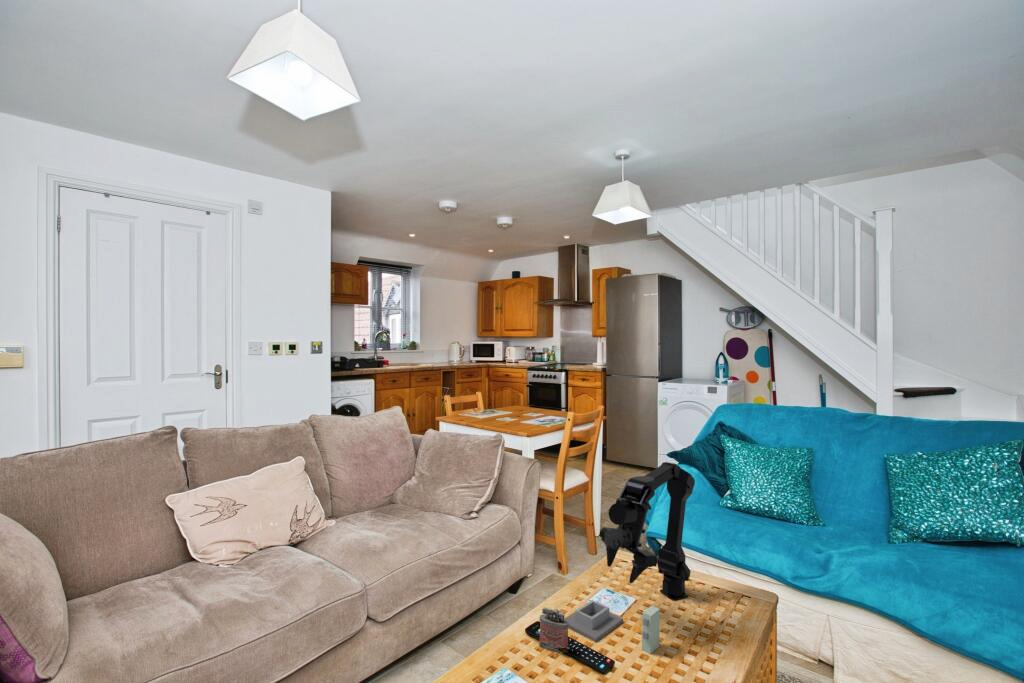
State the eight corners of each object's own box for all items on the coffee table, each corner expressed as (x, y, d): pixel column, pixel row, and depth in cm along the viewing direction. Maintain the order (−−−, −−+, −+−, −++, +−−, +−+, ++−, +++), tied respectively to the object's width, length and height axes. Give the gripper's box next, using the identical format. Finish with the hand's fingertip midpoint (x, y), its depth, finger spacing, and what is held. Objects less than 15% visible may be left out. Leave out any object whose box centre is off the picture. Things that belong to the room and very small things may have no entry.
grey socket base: (623, 622, 144) (623, 608, 144) (595, 642, 134) (595, 627, 134) (589, 606, 152) (589, 593, 152) (560, 624, 142) (561, 610, 142)
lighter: (570, 648, 131) (570, 610, 131) (566, 655, 128) (566, 616, 128) (541, 640, 134) (542, 603, 134) (537, 647, 131) (537, 609, 131)
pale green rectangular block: (659, 646, 132) (659, 608, 132) (649, 655, 128) (649, 616, 128) (651, 642, 134) (651, 605, 134) (640, 651, 130) (641, 613, 130)
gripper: (593, 507, 148) (579, 558, 148) (638, 536, 132) (622, 592, 132) (619, 510, 154) (605, 558, 154) (665, 537, 138) (650, 591, 138)
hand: (619, 574), depth 144 cm, fingers open, 9 cm apart
